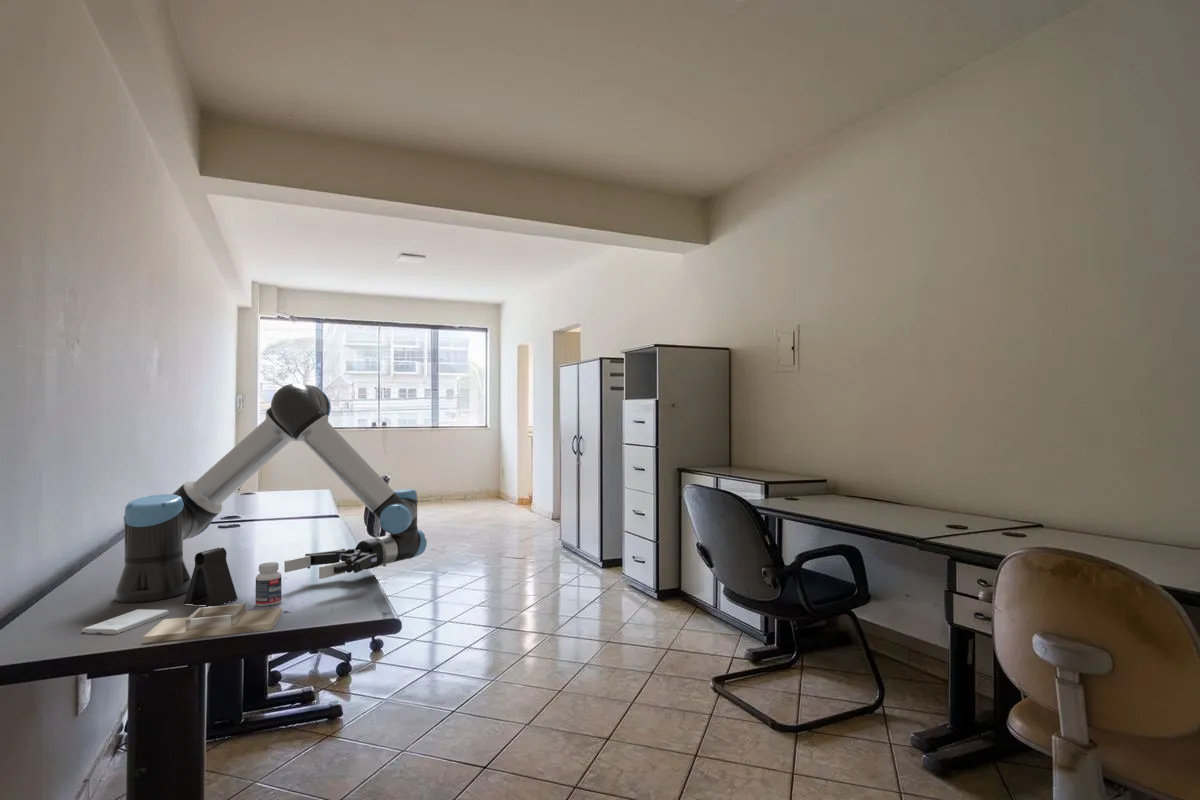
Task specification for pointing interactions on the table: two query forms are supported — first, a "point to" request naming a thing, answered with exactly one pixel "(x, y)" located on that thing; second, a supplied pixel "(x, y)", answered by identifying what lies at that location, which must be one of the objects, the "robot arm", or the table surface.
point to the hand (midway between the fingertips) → (302, 569)
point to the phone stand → (211, 580)
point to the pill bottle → (268, 585)
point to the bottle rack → (214, 623)
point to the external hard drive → (126, 621)
